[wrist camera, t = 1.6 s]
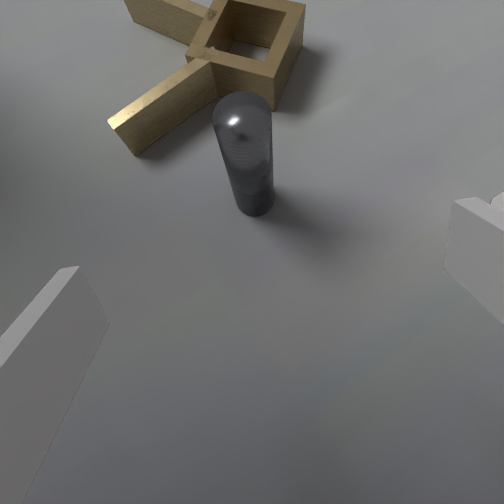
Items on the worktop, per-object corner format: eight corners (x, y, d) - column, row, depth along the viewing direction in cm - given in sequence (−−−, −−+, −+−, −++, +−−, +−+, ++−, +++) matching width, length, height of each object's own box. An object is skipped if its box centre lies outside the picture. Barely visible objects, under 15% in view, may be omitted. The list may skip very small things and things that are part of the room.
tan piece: (67, 134, 35) (38, 105, 31) (141, 6, 39) (124, -36, 35) (240, 190, 32) (234, 167, 28) (302, 45, 36) (305, 4, 31)
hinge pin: (230, 209, 31) (202, 132, 20) (244, 176, 32) (225, 84, 21) (265, 221, 31) (258, 149, 19) (279, 187, 32) (279, 99, 20)
